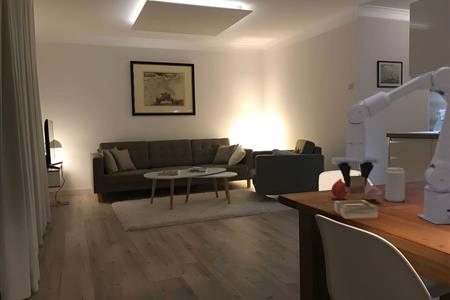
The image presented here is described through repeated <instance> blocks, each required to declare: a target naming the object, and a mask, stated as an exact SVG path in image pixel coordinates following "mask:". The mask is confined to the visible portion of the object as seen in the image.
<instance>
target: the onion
mask: <svg viewBox="0 0 450 300" xmlns="http://www.w3.org/2000/svg"><path fill="white" fill-rule="evenodd" d="M345 188H346V186H345V182H344V181H343V179H342V178H339V179H338V180H337V181H335V182H334V183H333V185H332V186H331V193H332V195H333V196H334V197H335V198H336V199H338V201H342V200H343V198H345V196H347V194H349V193H348V192H346V191H345Z"/></svg>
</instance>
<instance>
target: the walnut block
mask: <svg viewBox="0 0 450 300" xmlns="http://www.w3.org/2000/svg"><path fill="white" fill-rule="evenodd" d="M345 191H346V192H348V193H347V194H349V195H353V194H354V195H355V194H356V195H359V194H360V195H363V194H364V195H366V194H365V177H362V176H359V175H350V187H346V188H345Z"/></svg>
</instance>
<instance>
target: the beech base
mask: <svg viewBox="0 0 450 300" xmlns="http://www.w3.org/2000/svg"><path fill="white" fill-rule="evenodd" d="M333 205H334V206H333V209H334V212H336V214H338V215H339V216H341V217H342V218H344V219H345V220H347V219H348V220H349V219H350V220H351V219H378V214H379V213H378V211H379V208H378V206H377V205H375V204H372V203H371V202H368V201H367V200H365V199H364V200H363V199H361V200H360V199H358V200H356V199H355V200H334V203H333Z"/></svg>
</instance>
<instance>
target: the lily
mask: <svg viewBox="0 0 450 300" xmlns="http://www.w3.org/2000/svg"><path fill="white" fill-rule="evenodd" d="M358 176H361V173H358ZM366 194H367V195H371V196H372V197H373V199H374V200H377V199H378V201H379V202H380V203H383V201H382V199H381V198H380V196H378V195H381V194H383V191H381V190H380V189H379V188H378V187H376V186H375V185H372V184H371V183H370V181H369V180H368V179H367V183H366V187H365V194H361V197H360V199H359V200H362V199H363V197H364V195H366Z"/></svg>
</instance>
